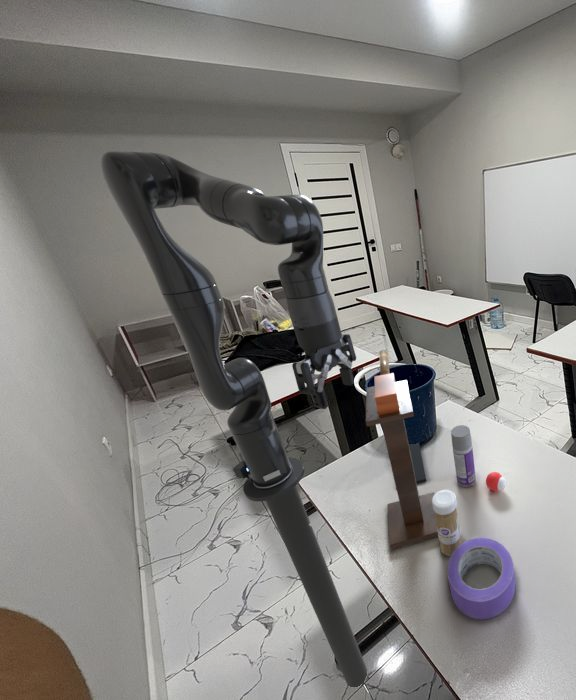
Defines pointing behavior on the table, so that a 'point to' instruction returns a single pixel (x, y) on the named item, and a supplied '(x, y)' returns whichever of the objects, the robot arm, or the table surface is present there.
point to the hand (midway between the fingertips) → (336, 395)
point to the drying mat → (417, 462)
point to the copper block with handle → (385, 388)
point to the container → (463, 455)
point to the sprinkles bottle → (447, 521)
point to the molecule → (495, 481)
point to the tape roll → (487, 599)
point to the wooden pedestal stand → (403, 475)
